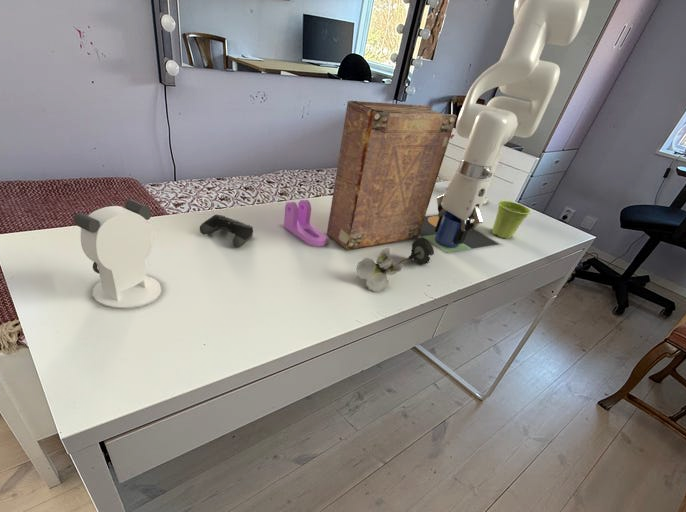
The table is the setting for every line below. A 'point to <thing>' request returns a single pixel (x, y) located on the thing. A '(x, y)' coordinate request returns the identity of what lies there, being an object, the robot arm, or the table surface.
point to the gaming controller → (228, 228)
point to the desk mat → (471, 241)
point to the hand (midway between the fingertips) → (448, 237)
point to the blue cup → (448, 230)
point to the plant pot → (509, 218)
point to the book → (386, 172)
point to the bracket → (302, 223)
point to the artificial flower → (391, 264)
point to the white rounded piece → (120, 254)
